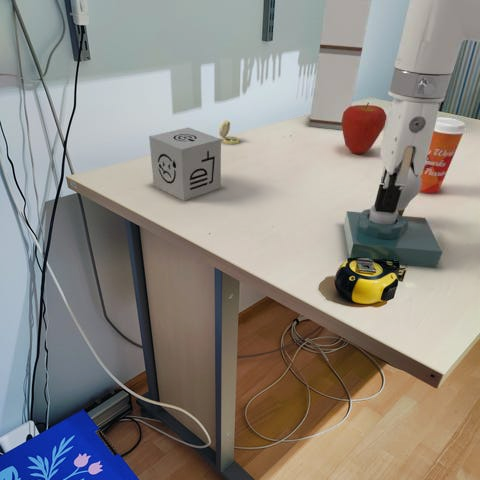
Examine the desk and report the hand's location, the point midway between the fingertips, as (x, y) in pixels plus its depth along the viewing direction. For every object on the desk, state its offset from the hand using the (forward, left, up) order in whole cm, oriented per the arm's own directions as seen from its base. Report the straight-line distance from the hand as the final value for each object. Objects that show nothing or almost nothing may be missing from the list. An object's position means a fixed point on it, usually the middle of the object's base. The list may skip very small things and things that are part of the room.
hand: (384, 210), depth 69 cm
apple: (-2, -50, -7) cm, 50 cm away
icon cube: (+37, -18, -7) cm, 42 cm away
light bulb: (-5, -10, -7) cm, 13 cm away
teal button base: (-2, 0, -6) cm, 7 cm away
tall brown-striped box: (+4, -76, -7) cm, 76 cm away
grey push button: (0, 0, -2) cm, 2 cm away
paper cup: (-15, -28, -7) cm, 32 cm away
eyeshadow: (+32, -51, -7) cm, 61 cm away
